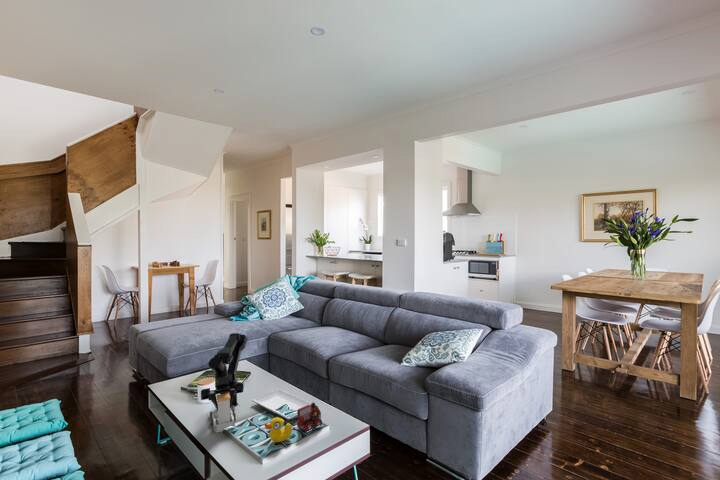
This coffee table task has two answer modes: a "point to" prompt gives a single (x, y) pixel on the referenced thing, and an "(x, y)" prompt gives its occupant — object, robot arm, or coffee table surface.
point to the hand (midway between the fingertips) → (223, 409)
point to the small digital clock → (221, 426)
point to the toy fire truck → (309, 417)
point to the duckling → (278, 430)
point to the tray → (280, 402)
